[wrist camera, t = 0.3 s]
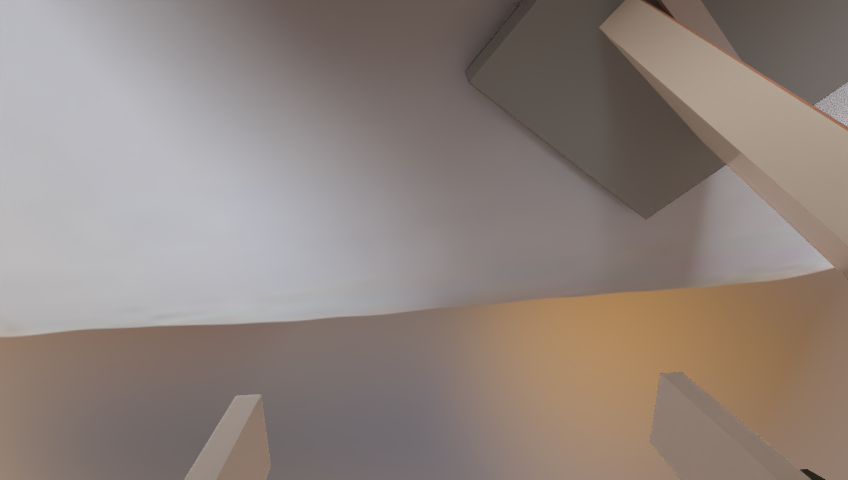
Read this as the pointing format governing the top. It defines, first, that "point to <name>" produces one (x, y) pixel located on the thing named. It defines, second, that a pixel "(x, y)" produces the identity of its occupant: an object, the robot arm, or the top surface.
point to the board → (647, 83)
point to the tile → (746, 123)
